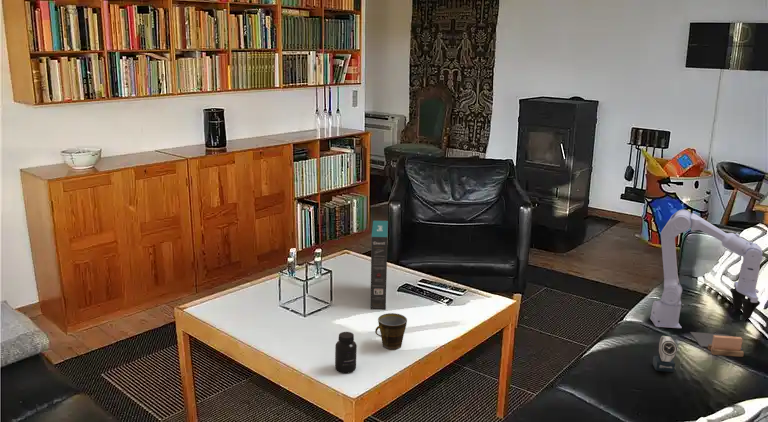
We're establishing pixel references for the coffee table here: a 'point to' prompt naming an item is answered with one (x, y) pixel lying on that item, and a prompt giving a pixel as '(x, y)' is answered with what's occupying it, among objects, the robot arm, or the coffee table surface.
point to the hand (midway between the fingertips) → (741, 313)
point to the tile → (726, 343)
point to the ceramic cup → (392, 330)
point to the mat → (705, 338)
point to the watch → (665, 355)
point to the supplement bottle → (345, 353)
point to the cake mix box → (379, 265)
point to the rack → (725, 352)
